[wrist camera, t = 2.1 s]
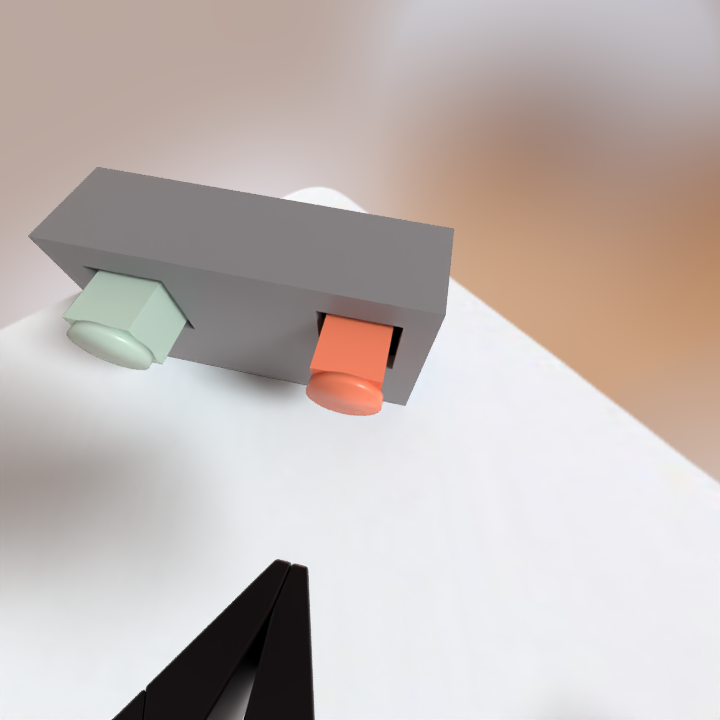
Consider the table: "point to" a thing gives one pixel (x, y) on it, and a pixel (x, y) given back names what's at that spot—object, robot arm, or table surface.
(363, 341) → the button red
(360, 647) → the table surface
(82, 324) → the button green
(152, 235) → the control box
